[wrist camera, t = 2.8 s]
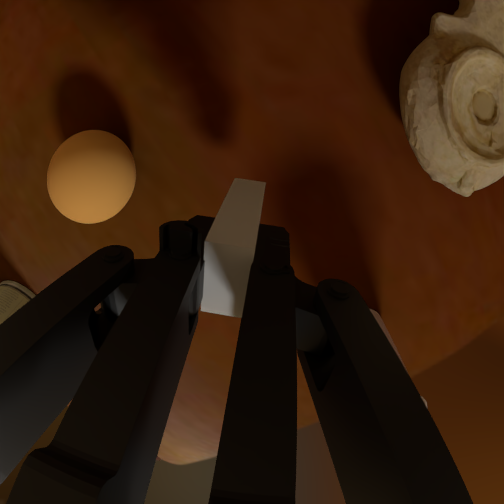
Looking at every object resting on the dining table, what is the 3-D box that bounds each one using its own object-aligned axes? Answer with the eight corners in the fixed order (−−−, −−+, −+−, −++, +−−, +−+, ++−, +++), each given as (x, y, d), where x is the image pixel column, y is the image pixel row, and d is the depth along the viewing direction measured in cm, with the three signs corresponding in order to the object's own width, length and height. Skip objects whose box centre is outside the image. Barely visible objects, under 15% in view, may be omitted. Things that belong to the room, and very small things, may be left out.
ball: (151, 124, 17) (105, 142, 12) (149, 206, 20) (111, 247, 15) (79, 122, 17) (24, 142, 12) (82, 198, 20) (36, 233, 15)
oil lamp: (483, -27, 9) (525, -42, 4) (519, 166, 15) (562, 191, 11) (340, -37, 11) (357, -71, 7) (396, 186, 18) (427, 219, 13)
